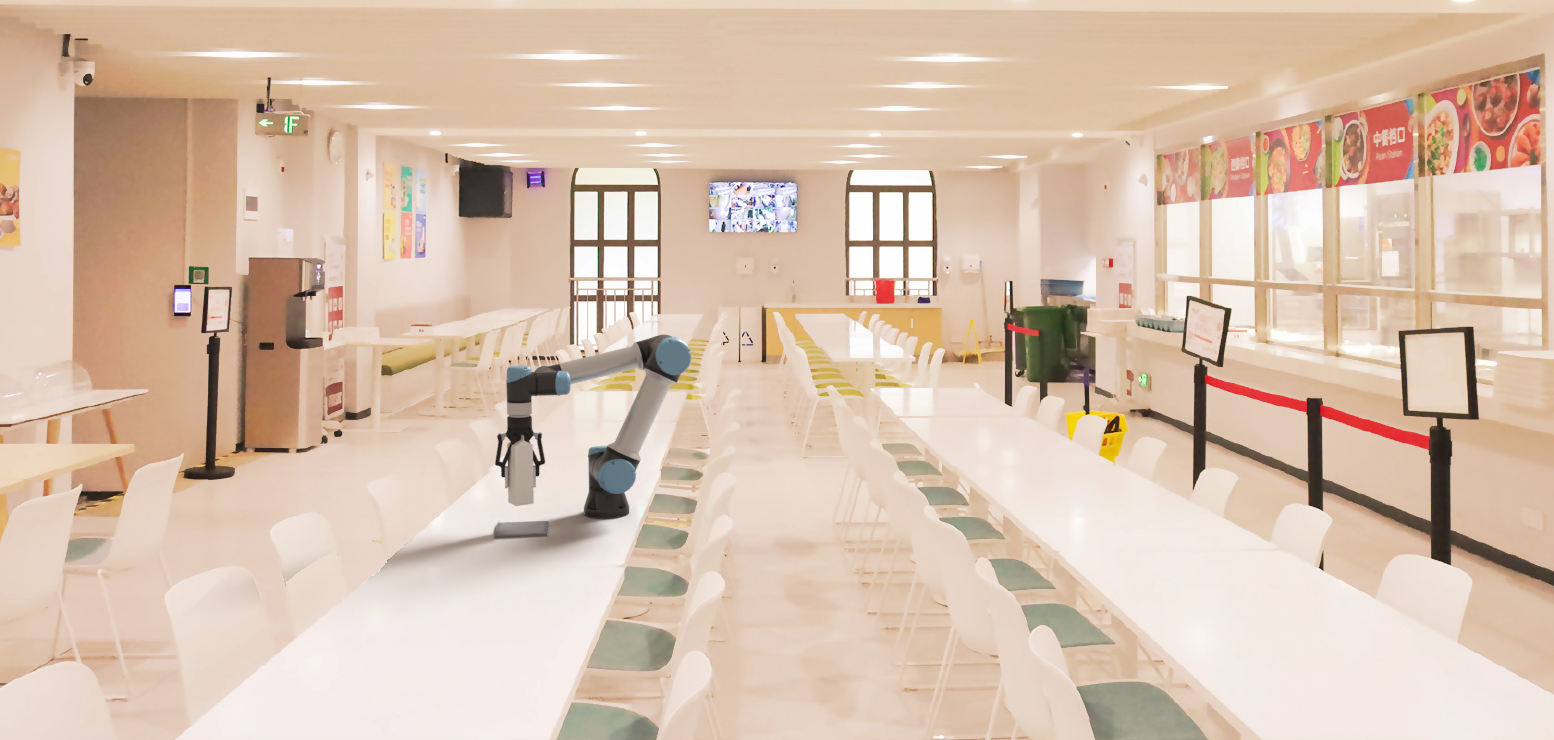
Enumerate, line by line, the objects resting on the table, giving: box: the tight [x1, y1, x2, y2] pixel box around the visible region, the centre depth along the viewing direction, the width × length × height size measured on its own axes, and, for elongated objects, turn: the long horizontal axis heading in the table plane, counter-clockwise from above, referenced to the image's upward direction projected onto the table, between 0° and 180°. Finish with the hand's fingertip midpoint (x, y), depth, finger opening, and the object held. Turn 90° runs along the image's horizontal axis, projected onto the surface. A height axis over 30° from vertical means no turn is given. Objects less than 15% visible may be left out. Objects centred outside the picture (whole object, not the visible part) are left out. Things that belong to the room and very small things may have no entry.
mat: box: [493, 520, 549, 539], centre depth 342 cm, size 16×16×1 cm
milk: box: [506, 435, 535, 507], centre depth 340 cm, size 6×6×22 cm
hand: (520, 486), depth 341 cm, fingers closed on milk, 8 cm apart
